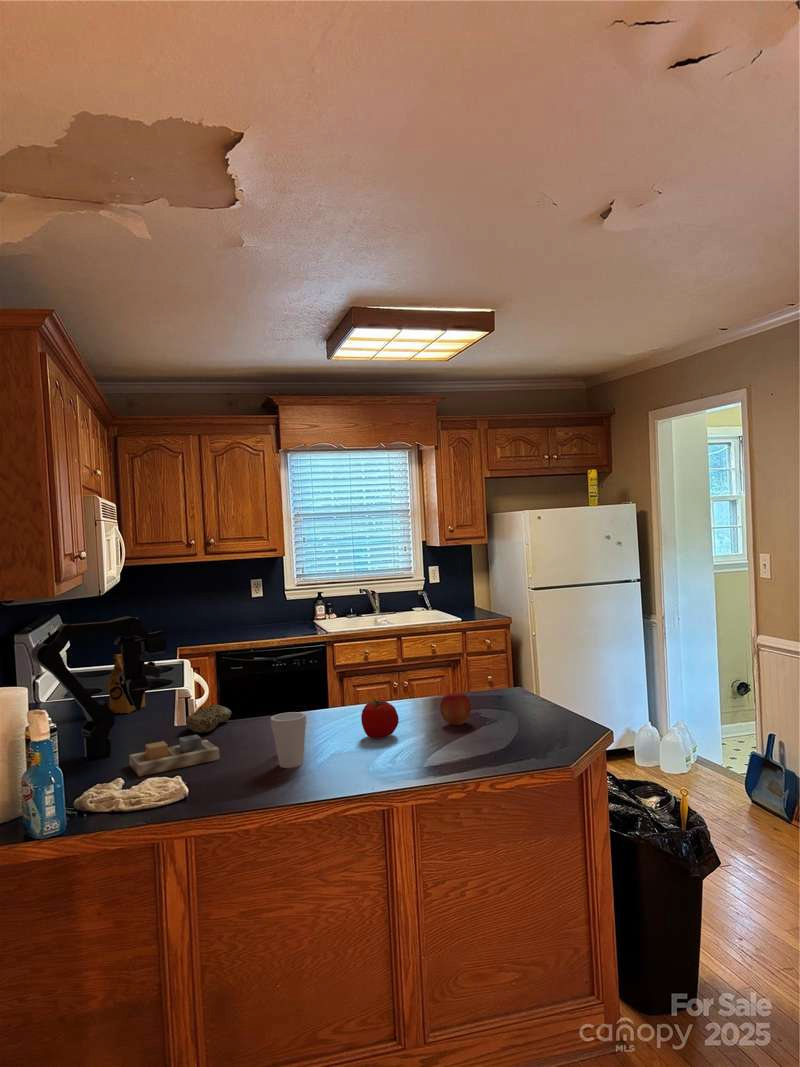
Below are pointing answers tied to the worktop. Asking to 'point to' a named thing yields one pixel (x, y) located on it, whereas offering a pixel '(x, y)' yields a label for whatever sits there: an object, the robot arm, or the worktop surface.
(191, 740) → the puzzle frame
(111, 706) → the coffee package
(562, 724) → the worktop surface
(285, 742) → the foam cup
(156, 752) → the block
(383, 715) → the red fruit
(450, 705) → the apple
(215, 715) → the speckled rock
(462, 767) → the worktop surface
